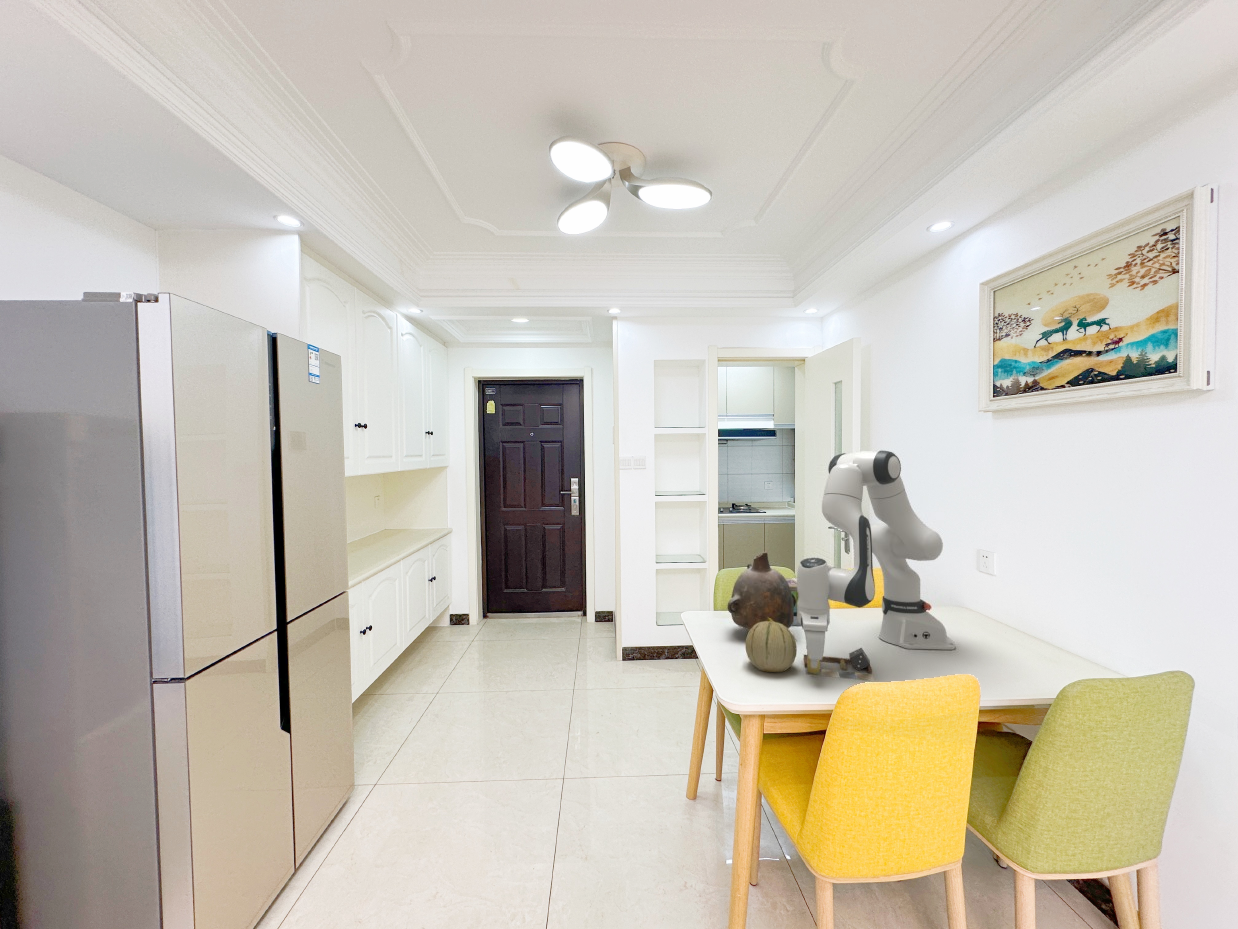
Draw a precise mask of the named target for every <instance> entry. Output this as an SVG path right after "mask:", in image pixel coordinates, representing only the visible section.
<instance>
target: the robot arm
mask: <svg viewBox="0 0 1238 929" xmlns="http://www.w3.org/2000/svg"><path fill="white" fill-rule="evenodd" d="M901 466H902V465H901V461H900V459H899V457H898V456H897V455H896V453H894V452H893V451H889V450H888V451H887V450H861V451H856V452H848V453H845V452H844V453H839V454H837V455H834V456H833V458H831V460H830V462H829V464H828V467H827V468H828V469H827V470H828V474H829V475H828V477H827V479H826V484H825V486H824V490H823V496H822V500H821V513H822V516H823V517H824V519H825V520H826V521H827V522H828V523H829V524H831V525H832V526H834V527H835V528H838V529H839V530H842V531H843V532H846V533H847V534H848V535H849V536H850V537H851V539H852V542H853V568H852V569H846V568H841V567H840V568H839V567H834V566H831V565H828V563H827V561H826V560H825V559H823V558H819V557H807V558H804V559H802V560H800V561H799V564H798V569H797V575H796V578H797V592H798V601H797V621H798V622H799V623H800V624H801V625H800V627H802V630H803V632H804V635H805V640H806V642H805V643H806V646H807V648H806V651H807V652H808V657H809V659H811V667H812V668H817V667H818V660H822V658H823V656H824V653H825V644H826V643H825V640H826V632H828V629H829V628H828V626H829V625H830V623H831V620H830V619H831V618H830V615H831V614H830V612H831V611H830V609H831V606H830V602H829V600H830V601H833V602H838V603H843V604H846V605H849V606H852V607H854V608H855V607H856V608H863V607H865V606H867V605H869V604H870V603H871V602H872V601H873V600H874V598H875V594H876V585H875V584H876V583H875V577H874V570H873V568H874V567H873V555H874V556H875V558H876V559H877V561H878V564H879V567H880V569H881V572H882V577H883V578H882V580H883V581H882V582H883V596H882V598H881V599H882V600H881V611H882V613H883V614H882V620H881V625H880V626H881V627H880V630H879V632H878V633H879V634H878V638H879V639H881V640H882V641H884V642H886V643H889V644H893V645H896V646H899V647H902V648H904V649H907V650H908V649H911V650H912V649H913V650H947V651H948V650H950V651H951V650H955V649H956V642H955V641H954V640H953V639H952V638H951V637H949V636H948V634H947V630H946V627H945V625H944V624H943V623H942V622H941V621H940V620H939V619H938V618H936V617H935V616H934V615H933V614H931V613H930V612H929V611H931V610H932V605H931V604H930V603H929V602H926V601H925V600H923V599H921V578H920V576H919V574H918V573H917V572H916V570H914V569H912V568H911V566H910V565H909V564H908V562H907V560H911V561H917V562H919V561H920V562H921V561H922V562H924V561H926V562H927V561H929V562H930V561H935V560H936V559H938V558H939V556H940V555H941V554H942V552H943V546H944V543H943V539H942V538H941V535H939V532H936V531H934V530H933V529H932V528H930V527H928V526H927V525H926V523H924V522H923V520H921V518H920V517H919V516H918V515H917V514H916V512H915V511H914V510H913V508H912V506H911V502H910V500H909V498H908V495H907V492H906V488H905V485H904V481H903V479H902V476H901V475H900V474H901V471H902V467H901ZM864 487H866V490H867V493H868V498H869V500H870V504H871V507H872V510H873V513H874V515H875V517H876V518H877V519H878V520H880V521H881V522H883V523H877V524H875V523H874V524H871V523H870V520H869V519H868V518H867V517H866V516H864V513H863V510H862V508H863V507H862V503H863V502H862V501H863V492H864ZM807 652H806V653H807Z"/></svg>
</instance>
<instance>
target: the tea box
mask: <svg viewBox="0 0 1238 929" xmlns="http://www.w3.org/2000/svg"><path fill="white" fill-rule="evenodd" d="M784 578H785V579H786V581H787V582H788V585H789V587H790V590H791V593H792V594H793V595H794V596H795V599H796V605H795V607H794V618H793V624H792V626H801V624H800V623H799V622H798V621H797V601H798V592H797V577H796V578H795V577H794V578H793V577H787V578H786V577H784Z"/></svg>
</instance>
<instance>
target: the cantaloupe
mask: <svg viewBox="0 0 1238 929" xmlns="http://www.w3.org/2000/svg"><path fill="white" fill-rule="evenodd" d="M767 620H769V621H764V622H759V623H757V624H756V625H754V626H753V627H752V628H751V629H750V630H748V633H747V635H746V639H745V651H746V656H747V658H748V660H749V661H750V662H751V664H752V665H753V666H754V667H755V668H756V669H758V670H760V671H761V672H765V673H766V672H767V673H783V672H785V671H787V670H788V669H790V668H791V667H792V665H793V664H794V662H795V660H796V657H797V650H798V649H797V648H798V646H797V641H796V639H795V636H794V635H793V633H792V631H791V630H790V629H789V628H787V627H786V626H784V625H783V624H780V623H777V622H774V621H773V620H772V619H770V618H767Z"/></svg>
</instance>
